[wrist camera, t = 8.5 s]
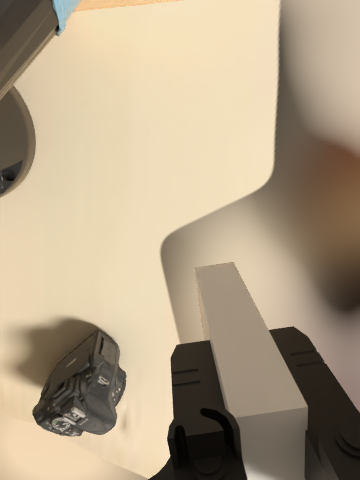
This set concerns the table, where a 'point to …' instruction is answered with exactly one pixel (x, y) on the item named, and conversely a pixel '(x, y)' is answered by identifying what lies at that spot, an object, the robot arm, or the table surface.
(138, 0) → the box
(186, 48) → the table surface
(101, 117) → the table surface
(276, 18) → the table surface
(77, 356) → the camera
